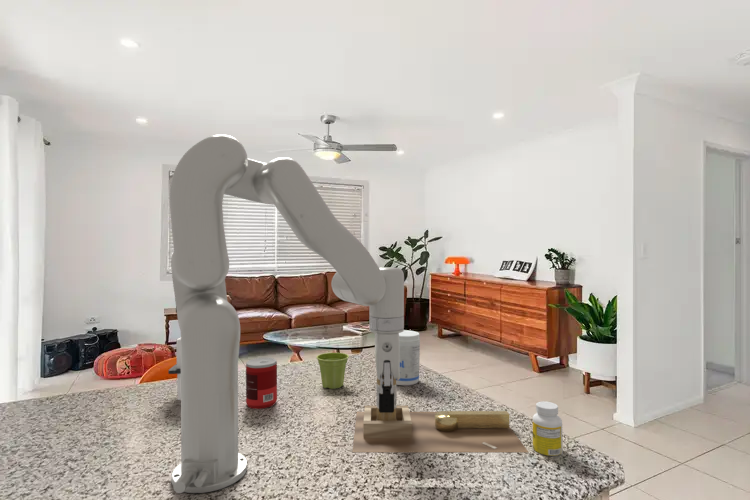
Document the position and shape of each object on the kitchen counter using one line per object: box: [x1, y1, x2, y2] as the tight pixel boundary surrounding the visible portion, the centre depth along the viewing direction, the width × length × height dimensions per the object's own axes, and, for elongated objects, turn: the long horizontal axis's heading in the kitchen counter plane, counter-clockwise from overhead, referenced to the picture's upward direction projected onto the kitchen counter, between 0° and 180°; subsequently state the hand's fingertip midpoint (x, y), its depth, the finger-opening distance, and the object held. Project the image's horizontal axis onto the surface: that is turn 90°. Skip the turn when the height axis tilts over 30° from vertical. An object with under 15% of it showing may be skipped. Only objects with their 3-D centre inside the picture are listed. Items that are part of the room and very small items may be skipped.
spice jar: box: [375, 376, 398, 421], centre depth 92 cm, size 5×5×14 cm
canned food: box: [245, 357, 278, 410], centre depth 109 cm, size 8×8×11 cm
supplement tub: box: [396, 329, 421, 386], centre depth 127 cm, size 10×10×15 cm
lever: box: [435, 410, 510, 431], centre depth 92 cm, size 5×16×3 cm, turn 90°
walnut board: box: [351, 411, 529, 453], centre depth 91 cm, size 20×34×1 cm, turn 90°
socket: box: [363, 404, 412, 438], centre depth 92 cm, size 10×10×3 cm
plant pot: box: [315, 352, 350, 390], centre depth 123 cm, size 9×9×9 cm
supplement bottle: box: [532, 400, 564, 458], centre depth 82 cm, size 5×5×10 cm
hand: (386, 406), depth 92 cm, fingers open, 4 cm apart
